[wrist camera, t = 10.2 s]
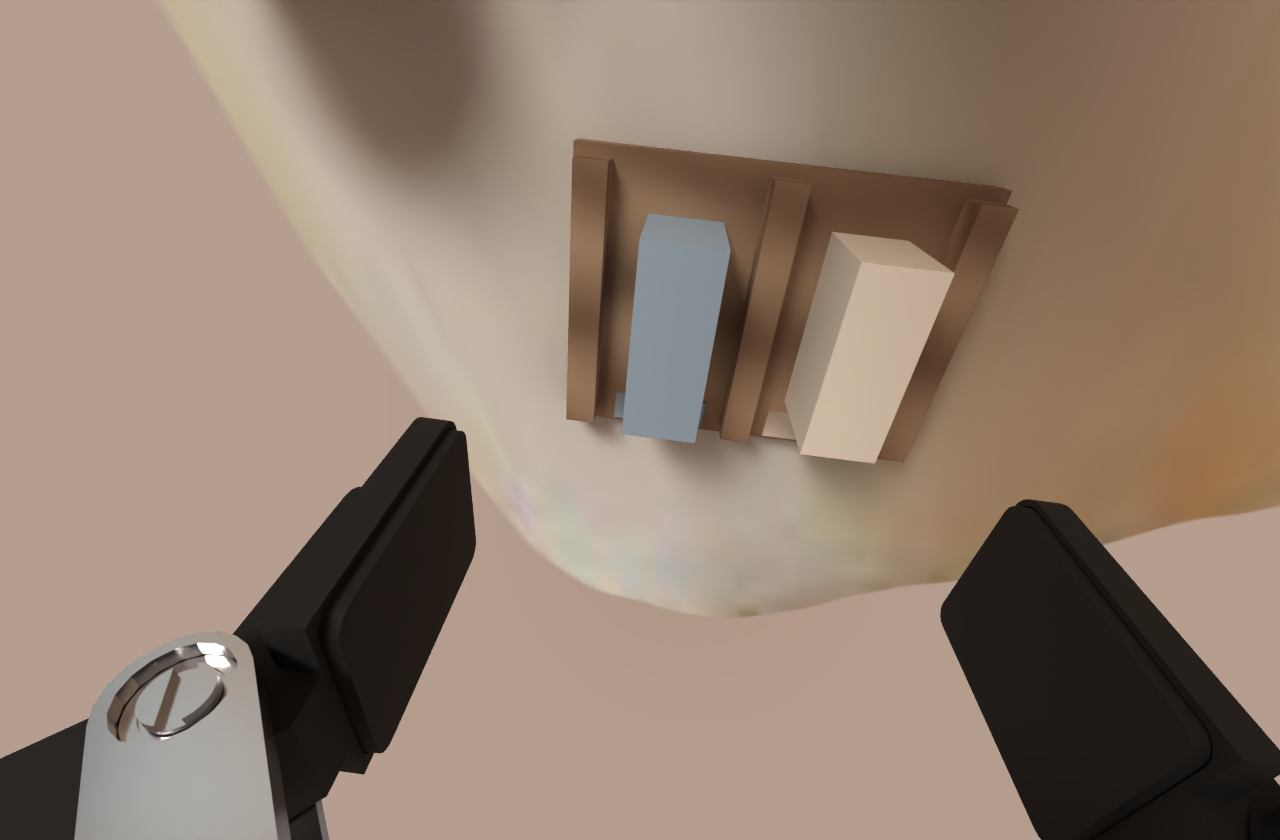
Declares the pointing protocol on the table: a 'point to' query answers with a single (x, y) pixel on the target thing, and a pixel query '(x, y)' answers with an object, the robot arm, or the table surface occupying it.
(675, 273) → the blue stub
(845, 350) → the ivory stub
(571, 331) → the slot rack
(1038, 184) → the table surface
